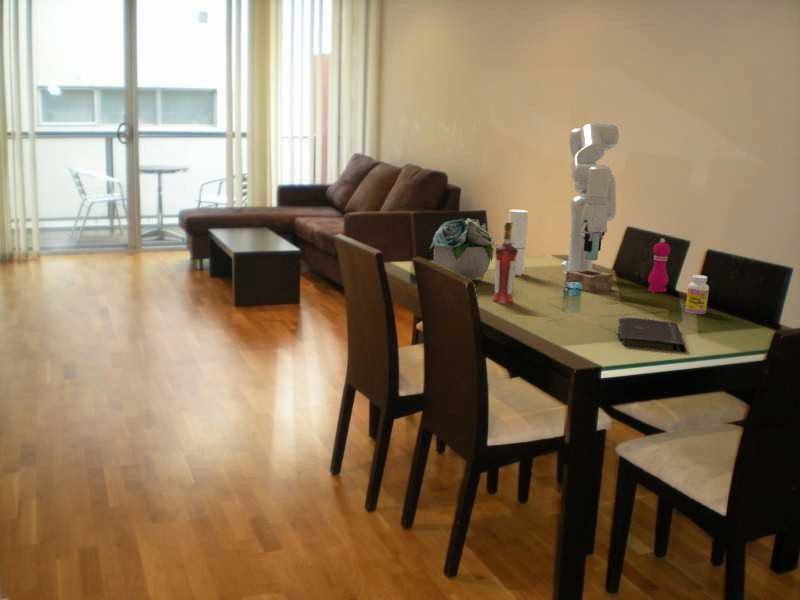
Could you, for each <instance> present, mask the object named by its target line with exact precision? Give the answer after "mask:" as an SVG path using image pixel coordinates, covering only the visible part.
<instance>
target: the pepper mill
mask: <svg viewBox="0 0 800 600" xmlns="http://www.w3.org/2000/svg"><path fill="white" fill-rule="evenodd" d="M665 239H666V238H664V237H663V238H660V240H659V242H657V243H655V244H654V246H653V247H652V248H653V249H652V250H653V253H654V255H653V260H654V264H653V267H652V270H651V271H650V273H649V275H648V279H647V282H648V283H649V286H648V292H650V291H651V292H650V293H655V292H665V293H666V292H667V287H666V286H667V285H668V283H669V276H668V272H667V268H666V265H667V261H668V255H669V254H670V252H671V248H670V245H669V244H668V243H666V240H665Z"/></svg>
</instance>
